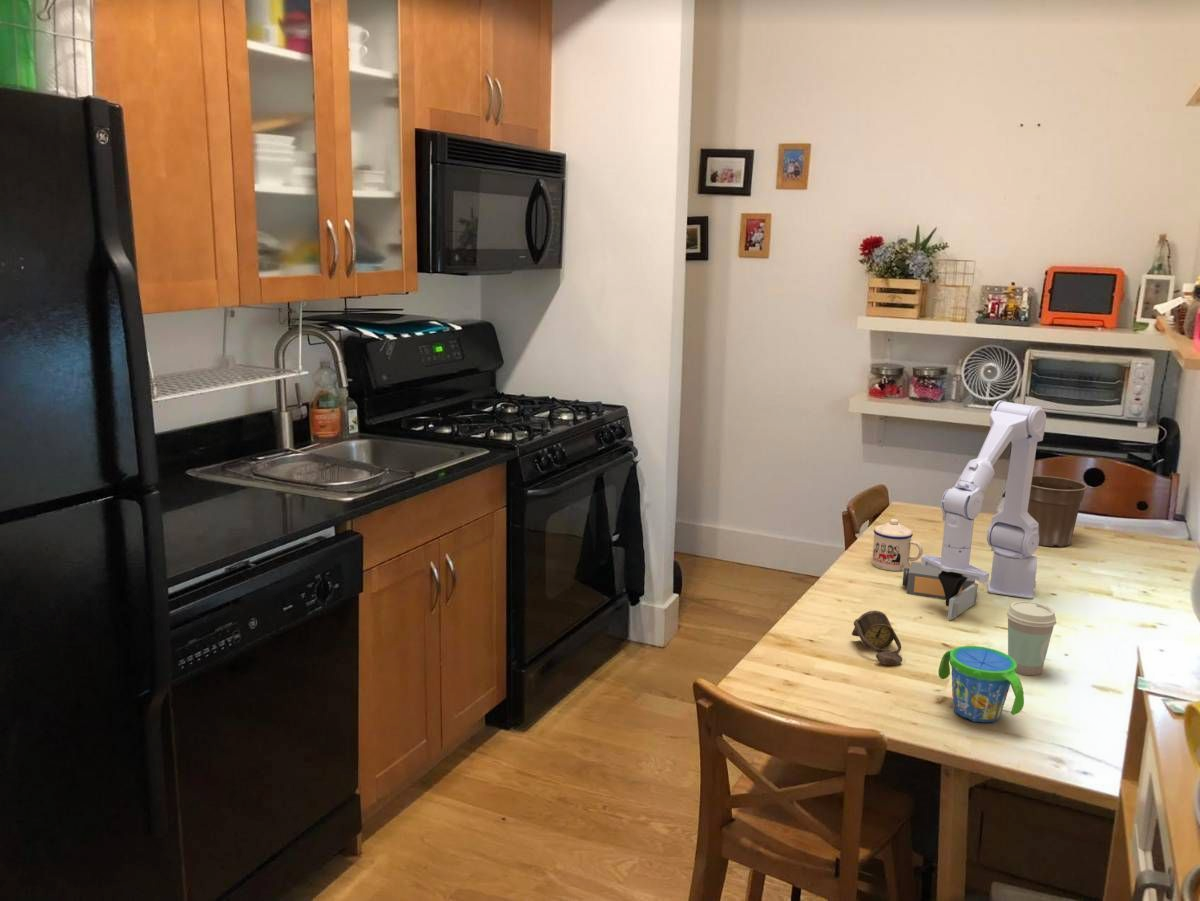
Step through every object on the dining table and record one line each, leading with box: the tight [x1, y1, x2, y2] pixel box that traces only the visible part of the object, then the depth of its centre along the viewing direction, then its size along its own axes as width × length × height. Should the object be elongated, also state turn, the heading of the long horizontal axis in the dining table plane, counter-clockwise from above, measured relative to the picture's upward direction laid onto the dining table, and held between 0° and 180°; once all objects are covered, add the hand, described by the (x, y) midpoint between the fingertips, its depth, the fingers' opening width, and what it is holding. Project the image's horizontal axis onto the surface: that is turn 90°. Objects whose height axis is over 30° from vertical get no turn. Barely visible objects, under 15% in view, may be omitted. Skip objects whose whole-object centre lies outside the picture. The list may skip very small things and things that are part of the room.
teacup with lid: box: [871, 518, 924, 572], centre depth 240 cm, size 12×9×12 cm
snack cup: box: [938, 645, 1025, 723], centre depth 166 cm, size 16×10×10 cm
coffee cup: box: [1005, 600, 1057, 676], centre depth 184 cm, size 8×8×12 cm
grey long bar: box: [947, 582, 979, 621], centre depth 212 cm, size 14×2×4 cm, turn 139°
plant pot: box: [1027, 475, 1088, 548], centre depth 263 cm, size 16×16×16 cm
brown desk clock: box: [851, 610, 903, 666], centre depth 191 cm, size 7×13×10 cm
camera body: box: [902, 561, 976, 600], centre depth 224 cm, size 15×8×6 cm, turn 68°
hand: (950, 605), depth 211 cm, fingers closed
